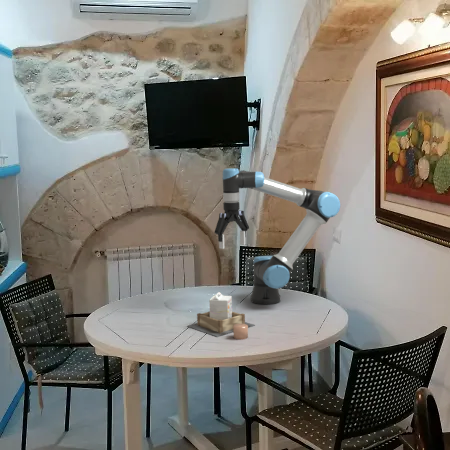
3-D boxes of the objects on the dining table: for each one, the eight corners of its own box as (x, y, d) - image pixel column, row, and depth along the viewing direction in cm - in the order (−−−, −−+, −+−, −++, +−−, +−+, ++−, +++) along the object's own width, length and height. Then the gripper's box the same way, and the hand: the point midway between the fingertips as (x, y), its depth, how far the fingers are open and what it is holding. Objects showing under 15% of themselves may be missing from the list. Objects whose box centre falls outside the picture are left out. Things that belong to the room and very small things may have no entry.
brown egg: (241, 334, 256) (240, 322, 255) (250, 337, 252) (250, 325, 251) (230, 337, 252) (230, 325, 251) (240, 340, 248) (240, 328, 247)
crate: (224, 316, 282) (224, 304, 281) (254, 325, 267) (254, 313, 266) (187, 326, 267) (187, 314, 267) (217, 337, 253) (216, 324, 252)
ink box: (228, 326, 262) (227, 296, 260) (209, 325, 264) (208, 296, 262) (232, 321, 270) (232, 291, 268) (214, 320, 272) (213, 291, 270)
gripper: (244, 198, 294) (245, 241, 297) (205, 203, 277) (207, 249, 280) (255, 199, 288) (256, 243, 291) (216, 204, 272) (218, 251, 275)
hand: (232, 246), depth 286 cm, fingers open, 13 cm apart
